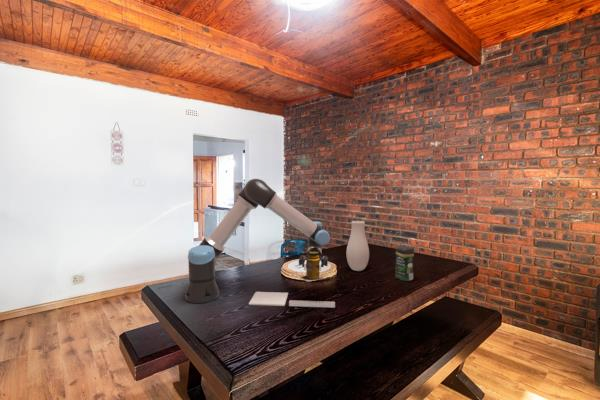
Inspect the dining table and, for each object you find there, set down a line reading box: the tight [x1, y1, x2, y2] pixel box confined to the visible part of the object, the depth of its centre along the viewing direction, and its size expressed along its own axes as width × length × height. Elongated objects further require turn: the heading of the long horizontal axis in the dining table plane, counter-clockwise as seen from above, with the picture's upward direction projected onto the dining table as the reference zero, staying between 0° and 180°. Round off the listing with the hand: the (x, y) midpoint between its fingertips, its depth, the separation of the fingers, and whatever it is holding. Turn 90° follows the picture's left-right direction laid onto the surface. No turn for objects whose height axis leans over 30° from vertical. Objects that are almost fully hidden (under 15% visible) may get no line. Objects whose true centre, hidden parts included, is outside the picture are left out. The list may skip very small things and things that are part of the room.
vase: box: [345, 220, 370, 272], centre depth 183 cm, size 14×14×30 cm
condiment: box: [299, 251, 324, 282], centre depth 136 cm, size 7×8×12 cm
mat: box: [248, 291, 289, 307], centre depth 139 cm, size 16×14×1 cm
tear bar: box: [288, 299, 336, 308], centre depth 131 cm, size 20×2×2 cm, turn 86°
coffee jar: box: [394, 245, 415, 282], centre depth 166 cm, size 10×8×19 cm
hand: (312, 267), depth 131 cm, fingers closed on condiment, 6 cm apart
